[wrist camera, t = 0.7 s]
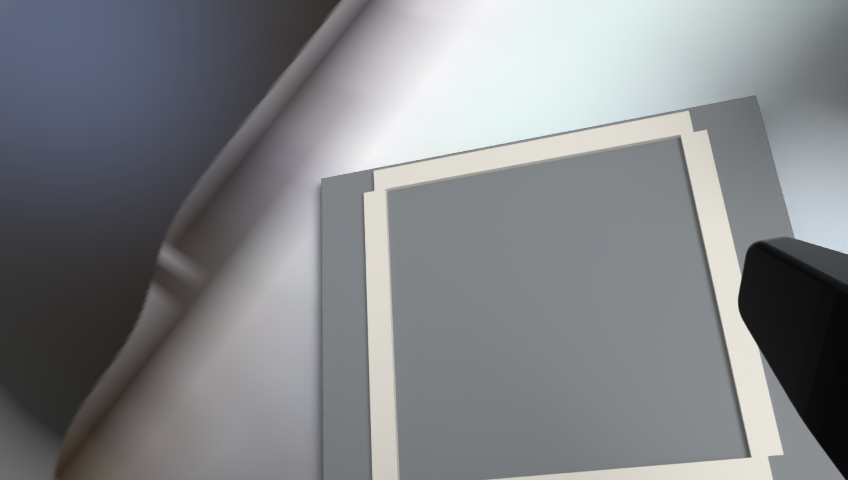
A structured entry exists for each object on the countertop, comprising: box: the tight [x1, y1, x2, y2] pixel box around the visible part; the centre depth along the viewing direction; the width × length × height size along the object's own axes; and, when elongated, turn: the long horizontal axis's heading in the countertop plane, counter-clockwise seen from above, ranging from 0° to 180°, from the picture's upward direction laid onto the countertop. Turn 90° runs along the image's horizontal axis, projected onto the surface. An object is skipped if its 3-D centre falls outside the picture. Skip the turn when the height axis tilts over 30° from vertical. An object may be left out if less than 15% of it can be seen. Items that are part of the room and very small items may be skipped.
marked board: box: [321, 95, 845, 480], centre depth 23 cm, size 12×15×1 cm
